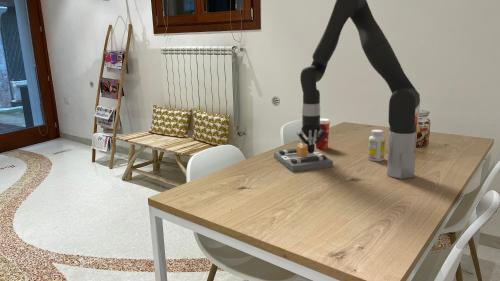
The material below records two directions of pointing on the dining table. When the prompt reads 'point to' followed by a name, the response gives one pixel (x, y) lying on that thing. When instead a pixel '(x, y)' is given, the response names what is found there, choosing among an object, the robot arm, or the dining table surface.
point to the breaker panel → (286, 161)
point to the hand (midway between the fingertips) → (310, 152)
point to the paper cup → (324, 140)
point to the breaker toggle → (302, 150)
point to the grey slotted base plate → (300, 160)
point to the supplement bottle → (376, 146)
